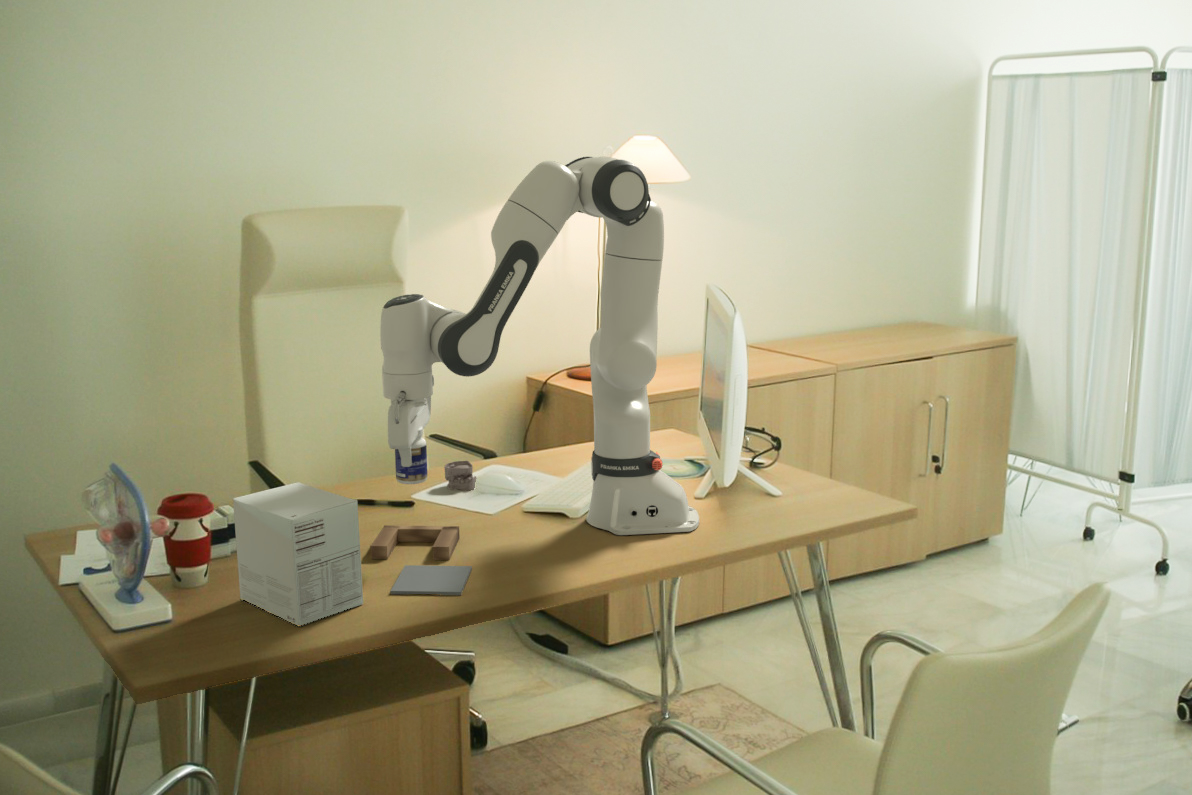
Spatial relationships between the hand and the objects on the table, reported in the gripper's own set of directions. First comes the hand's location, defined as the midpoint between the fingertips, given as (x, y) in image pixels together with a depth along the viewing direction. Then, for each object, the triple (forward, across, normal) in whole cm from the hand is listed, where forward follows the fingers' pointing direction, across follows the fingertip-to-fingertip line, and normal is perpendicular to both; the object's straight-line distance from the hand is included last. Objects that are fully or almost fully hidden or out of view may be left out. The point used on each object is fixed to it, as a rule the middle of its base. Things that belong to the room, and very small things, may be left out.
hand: (411, 460), depth 215 cm
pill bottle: (+4, 0, 0) cm, 4 cm away
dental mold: (+18, +42, -1) cm, 46 cm away
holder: (+18, +3, 0) cm, 18 cm away
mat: (+18, -14, -6) cm, 23 cm away
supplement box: (+18, -24, +14) cm, 33 cm away
